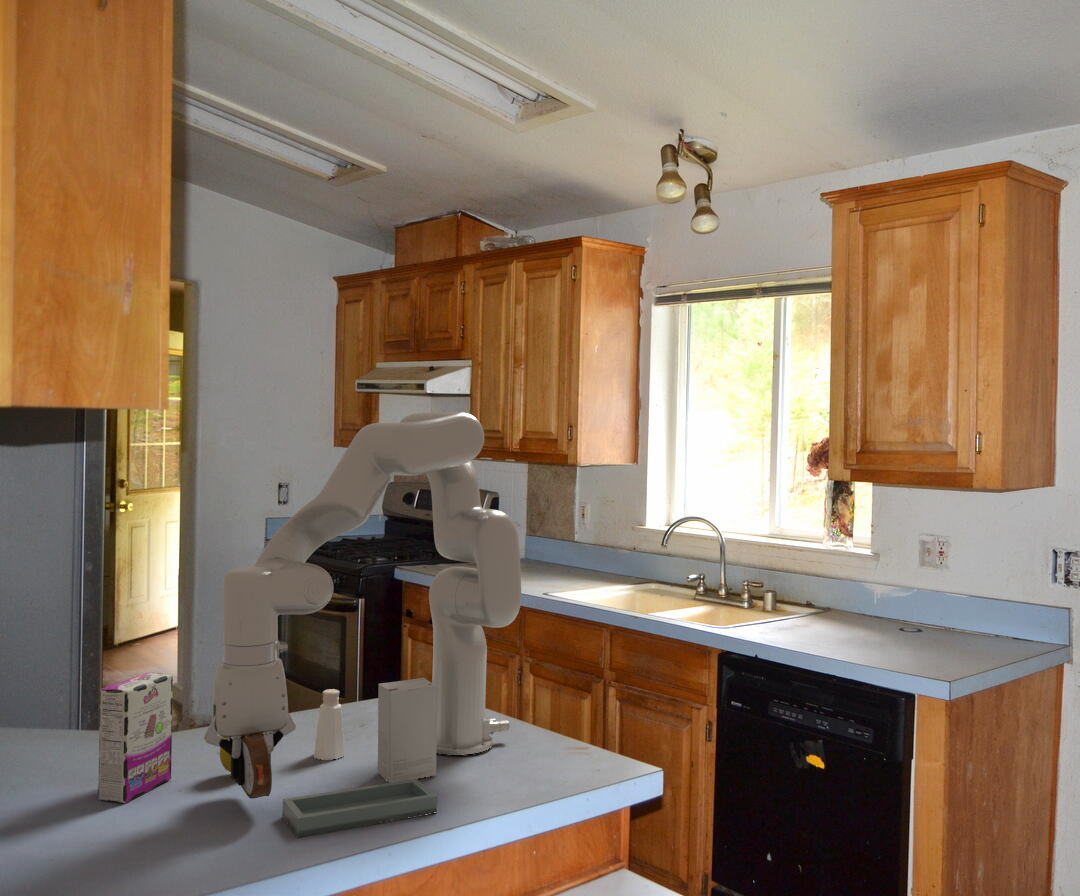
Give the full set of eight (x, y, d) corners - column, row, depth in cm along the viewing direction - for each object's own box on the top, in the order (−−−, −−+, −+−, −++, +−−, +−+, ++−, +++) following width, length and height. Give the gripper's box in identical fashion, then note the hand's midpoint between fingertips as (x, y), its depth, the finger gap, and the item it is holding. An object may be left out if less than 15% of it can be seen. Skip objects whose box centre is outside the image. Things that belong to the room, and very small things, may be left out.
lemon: (242, 768, 153) (244, 718, 153) (262, 775, 149) (264, 725, 149) (211, 776, 149) (213, 725, 149) (231, 784, 145) (233, 732, 145)
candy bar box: (143, 776, 148) (147, 671, 148) (172, 780, 146) (175, 673, 147) (94, 801, 137) (98, 687, 137) (124, 805, 136) (128, 690, 136)
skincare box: (423, 766, 156) (425, 676, 156) (437, 778, 151) (440, 684, 151) (374, 773, 152) (377, 681, 152) (387, 785, 146) (390, 689, 147)
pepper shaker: (307, 759, 158) (309, 693, 158) (320, 749, 163) (322, 685, 164) (338, 761, 157) (340, 695, 157) (350, 752, 162) (352, 688, 163)
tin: (273, 804, 131) (274, 743, 131) (249, 808, 129) (251, 746, 129) (249, 770, 144) (250, 715, 144) (227, 773, 142) (229, 718, 142)
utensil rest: (415, 795, 142) (416, 778, 142) (436, 813, 135) (437, 795, 135) (282, 817, 132) (282, 799, 133) (297, 837, 126) (298, 818, 126)
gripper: (299, 642, 144) (299, 763, 144) (187, 654, 136) (187, 782, 136) (313, 652, 137) (313, 778, 137) (196, 665, 129) (196, 799, 129)
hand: (250, 779), depth 137 cm, fingers closed on tin, 2 cm apart
